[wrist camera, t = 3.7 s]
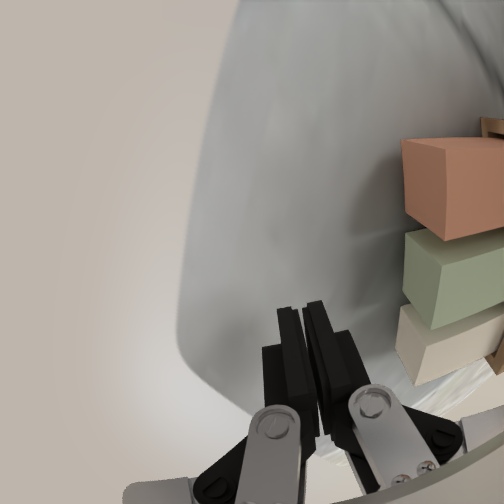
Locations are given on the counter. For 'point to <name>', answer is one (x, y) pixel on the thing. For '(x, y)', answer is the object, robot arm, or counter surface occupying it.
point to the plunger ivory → (446, 342)
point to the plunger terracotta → (454, 184)
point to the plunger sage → (453, 274)
